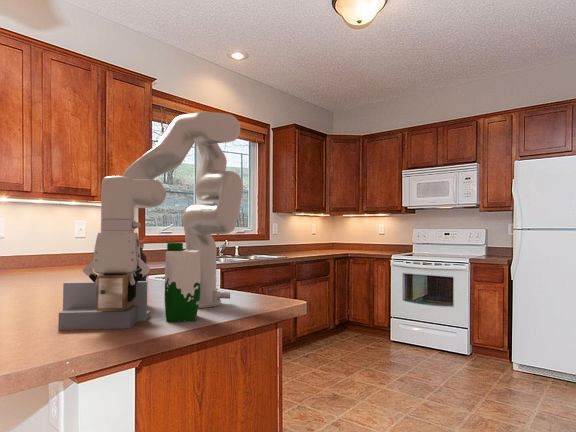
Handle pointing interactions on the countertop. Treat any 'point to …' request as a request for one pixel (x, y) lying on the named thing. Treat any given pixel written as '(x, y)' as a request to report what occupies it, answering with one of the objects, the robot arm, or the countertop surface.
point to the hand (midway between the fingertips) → (116, 300)
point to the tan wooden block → (113, 292)
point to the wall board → (84, 308)
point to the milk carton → (181, 283)
